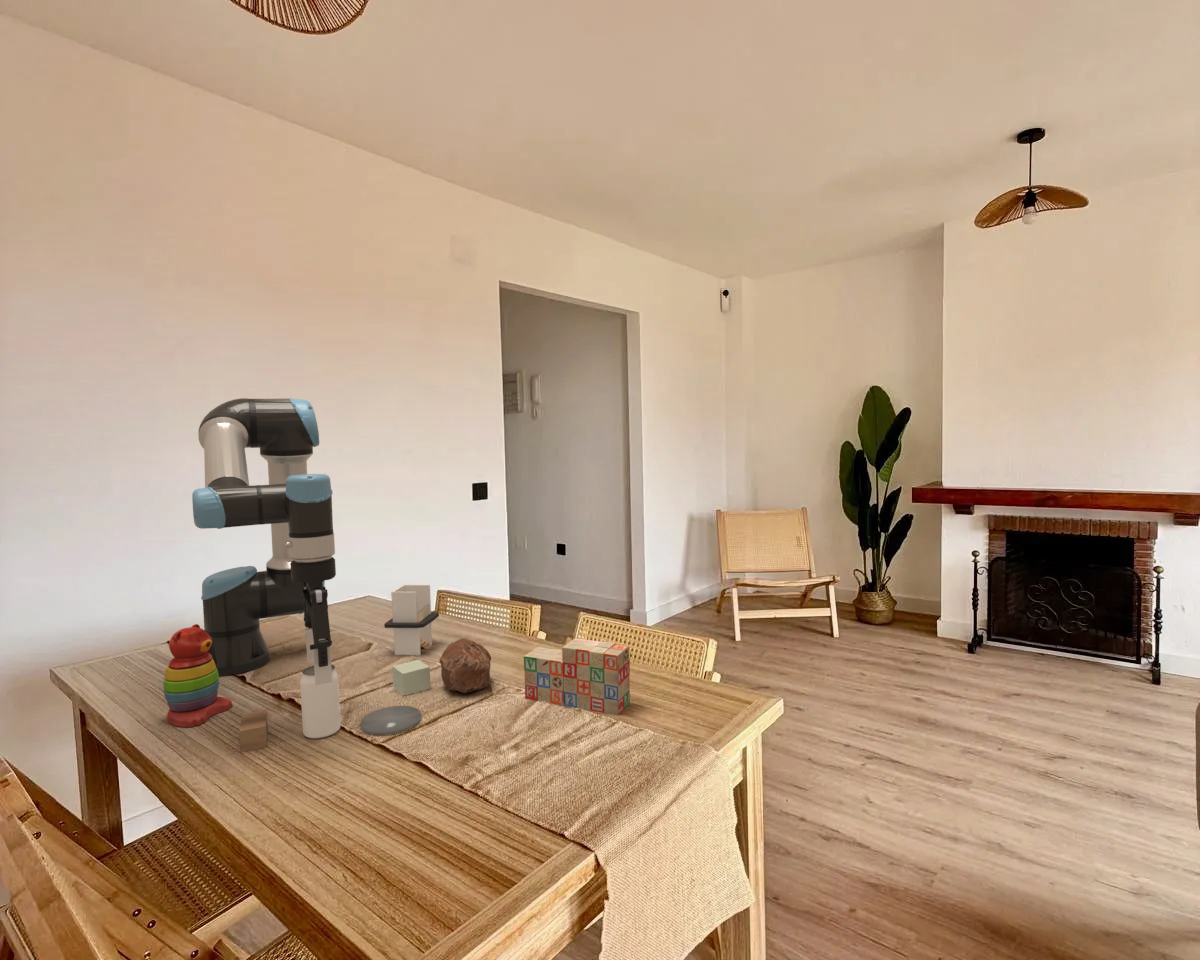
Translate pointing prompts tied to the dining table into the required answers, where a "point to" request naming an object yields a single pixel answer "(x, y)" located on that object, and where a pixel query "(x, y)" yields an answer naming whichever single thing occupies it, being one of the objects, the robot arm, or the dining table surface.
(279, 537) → the robot arm
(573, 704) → the stack of blocks
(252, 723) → the walnut block
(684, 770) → the dining table surface
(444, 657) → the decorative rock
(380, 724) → the slate coaster
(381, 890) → the dining table surface
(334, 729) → the can
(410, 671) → the sage block
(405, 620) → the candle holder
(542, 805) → the dining table surface
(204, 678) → the stacking bear
